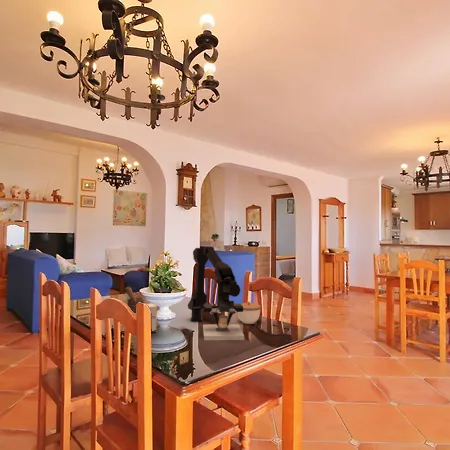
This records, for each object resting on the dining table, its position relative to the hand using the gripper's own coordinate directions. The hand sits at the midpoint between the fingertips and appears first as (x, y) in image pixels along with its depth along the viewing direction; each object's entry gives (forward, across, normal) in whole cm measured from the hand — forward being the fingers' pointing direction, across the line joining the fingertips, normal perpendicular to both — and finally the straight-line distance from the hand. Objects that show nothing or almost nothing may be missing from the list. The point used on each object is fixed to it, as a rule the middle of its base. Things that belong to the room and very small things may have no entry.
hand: (222, 325), depth 154 cm
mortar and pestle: (+4, -44, +17) cm, 47 cm away
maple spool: (+2, 0, 0) cm, 2 cm away
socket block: (+4, 0, 0) cm, 4 cm away
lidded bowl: (+4, +16, +20) cm, 26 cm away
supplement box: (+4, -36, +5) cm, 37 cm away
